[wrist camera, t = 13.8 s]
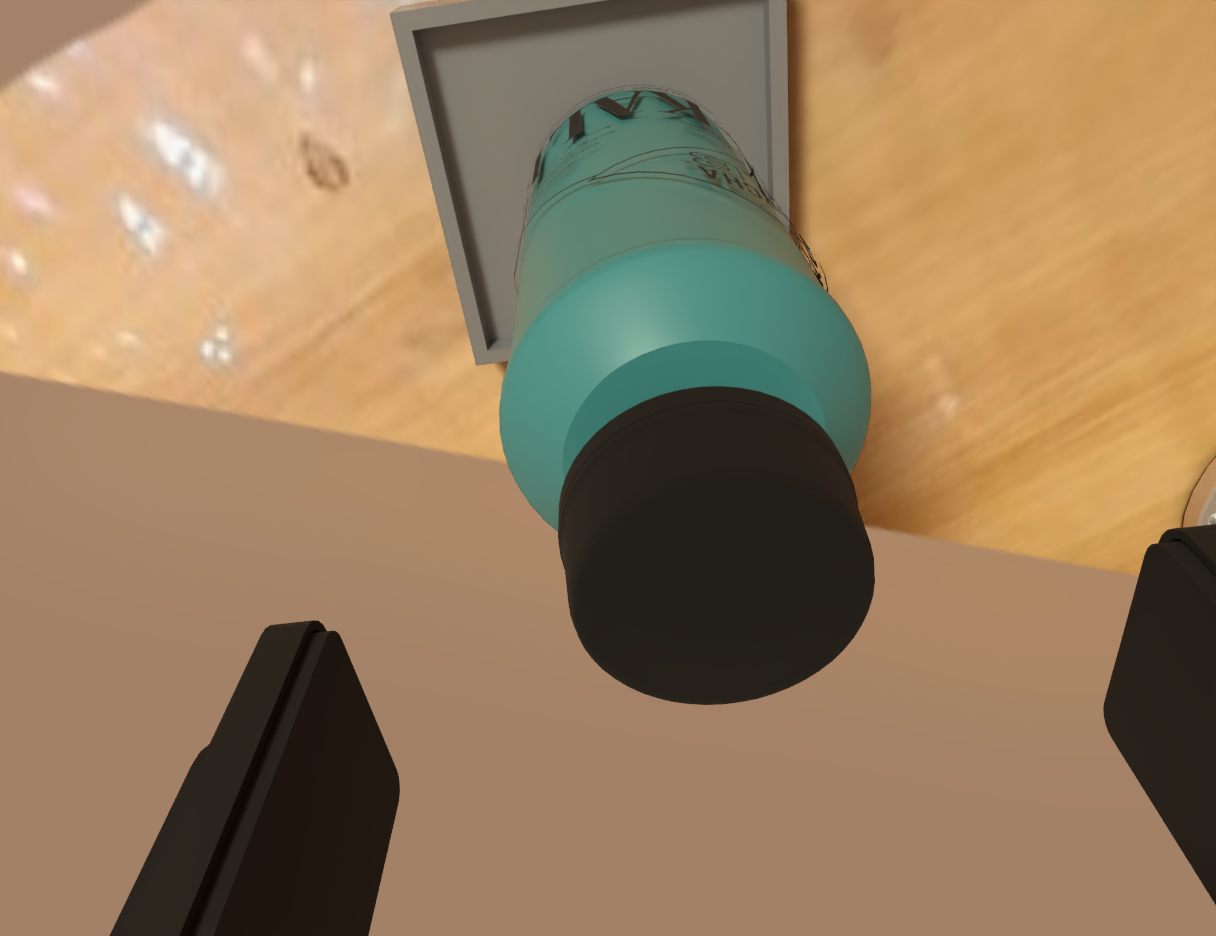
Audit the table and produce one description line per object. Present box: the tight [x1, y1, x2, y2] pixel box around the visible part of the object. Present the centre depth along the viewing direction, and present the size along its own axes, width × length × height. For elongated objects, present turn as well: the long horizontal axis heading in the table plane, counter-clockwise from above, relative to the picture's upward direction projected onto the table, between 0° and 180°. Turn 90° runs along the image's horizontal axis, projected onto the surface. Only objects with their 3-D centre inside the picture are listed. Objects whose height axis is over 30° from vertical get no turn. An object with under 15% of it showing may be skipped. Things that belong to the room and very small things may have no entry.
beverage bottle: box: [499, 85, 875, 705], centre depth 19 cm, size 6×7×20 cm
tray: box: [390, 0, 790, 366], centre depth 27 cm, size 11×11×2 cm
